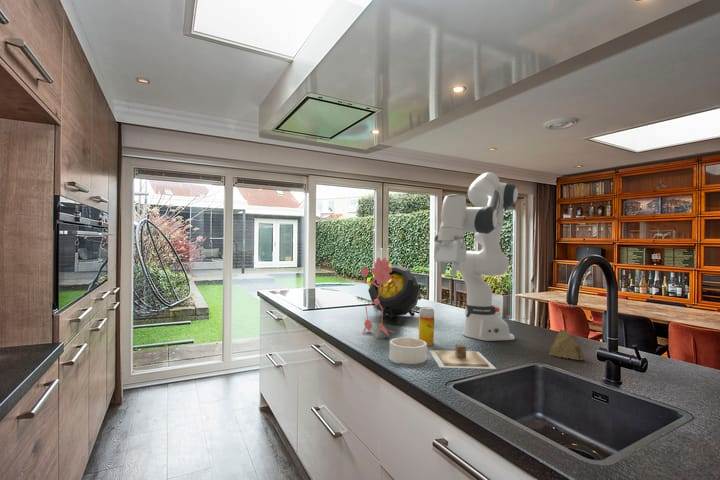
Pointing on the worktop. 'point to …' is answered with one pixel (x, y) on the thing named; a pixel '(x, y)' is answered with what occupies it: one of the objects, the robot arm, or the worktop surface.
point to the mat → (460, 366)
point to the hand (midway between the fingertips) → (447, 274)
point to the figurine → (381, 275)
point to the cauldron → (396, 293)
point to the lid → (461, 357)
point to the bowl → (408, 350)
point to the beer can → (426, 325)
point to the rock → (566, 347)
